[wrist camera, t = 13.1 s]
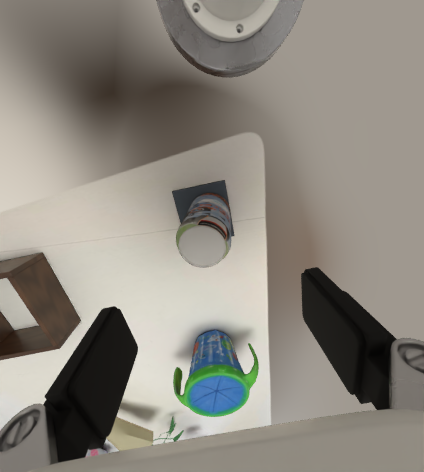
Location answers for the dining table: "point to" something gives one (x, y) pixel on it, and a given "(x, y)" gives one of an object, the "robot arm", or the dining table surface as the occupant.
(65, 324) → the open wooden box
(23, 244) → the dining table surface
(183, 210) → the mat
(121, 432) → the flower vase
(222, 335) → the snack cup
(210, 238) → the beverage can
